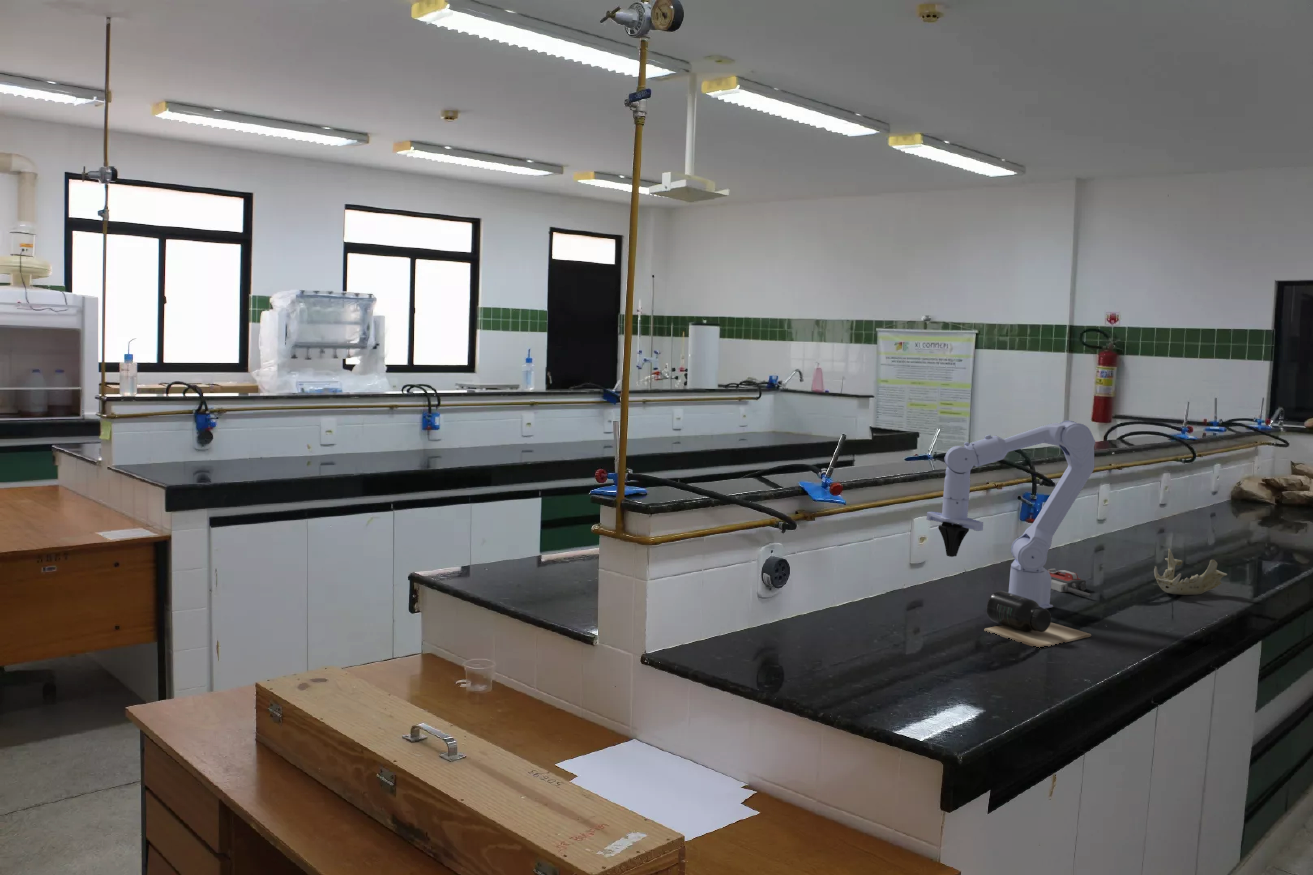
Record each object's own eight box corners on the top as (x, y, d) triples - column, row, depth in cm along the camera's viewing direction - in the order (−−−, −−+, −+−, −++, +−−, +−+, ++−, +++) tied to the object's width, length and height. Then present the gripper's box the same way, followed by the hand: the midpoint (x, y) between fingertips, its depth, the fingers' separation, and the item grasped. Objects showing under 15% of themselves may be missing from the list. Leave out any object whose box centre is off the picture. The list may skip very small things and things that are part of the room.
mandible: (1195, 605, 237) (1199, 564, 236) (1130, 591, 248) (1134, 552, 247) (1227, 595, 249) (1231, 556, 248) (1164, 581, 261) (1167, 544, 260)
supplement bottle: (1009, 590, 214) (1056, 604, 204) (1004, 620, 214) (1052, 636, 204) (988, 589, 210) (1035, 604, 200) (983, 621, 210) (1030, 637, 200)
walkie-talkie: (1022, 581, 254) (1087, 602, 237) (1023, 565, 254) (1089, 583, 236) (1046, 579, 258) (1112, 599, 241) (1047, 563, 258) (1114, 581, 240)
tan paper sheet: (1035, 620, 217) (1036, 617, 217) (1090, 636, 206) (1091, 633, 206) (984, 630, 206) (984, 628, 206) (1039, 648, 196) (1039, 645, 196)
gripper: (919, 494, 232) (915, 550, 234) (971, 504, 220) (966, 564, 222) (939, 492, 236) (935, 548, 238) (990, 502, 225) (986, 561, 226)
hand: (951, 555), depth 230 cm, fingers closed
